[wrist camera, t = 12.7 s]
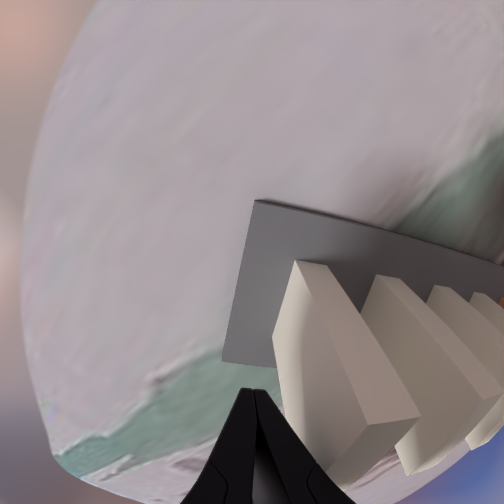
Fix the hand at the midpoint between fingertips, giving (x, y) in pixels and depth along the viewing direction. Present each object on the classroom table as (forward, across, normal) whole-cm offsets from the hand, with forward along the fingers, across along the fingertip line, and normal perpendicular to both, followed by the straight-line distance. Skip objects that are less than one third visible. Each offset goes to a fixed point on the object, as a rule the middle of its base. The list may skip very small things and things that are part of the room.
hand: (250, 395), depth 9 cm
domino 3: (+7, -13, 0) cm, 15 cm away
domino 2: (+7, -8, 0) cm, 11 cm away
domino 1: (+7, -3, 0) cm, 8 cm away
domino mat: (+8, -13, 0) cm, 15 cm away
